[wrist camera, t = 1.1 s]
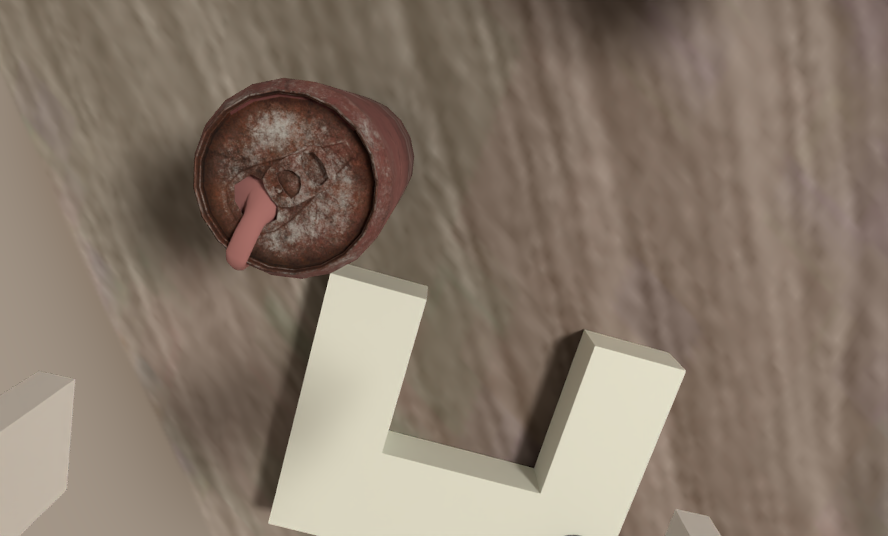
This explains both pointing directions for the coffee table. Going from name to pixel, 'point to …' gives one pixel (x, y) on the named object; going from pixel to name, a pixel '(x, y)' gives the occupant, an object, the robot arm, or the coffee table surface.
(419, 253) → the coffee table surface
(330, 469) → the u-shaped block
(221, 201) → the can
